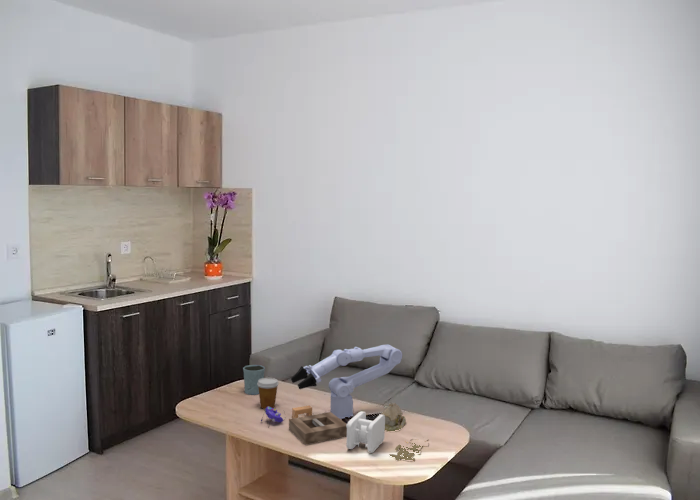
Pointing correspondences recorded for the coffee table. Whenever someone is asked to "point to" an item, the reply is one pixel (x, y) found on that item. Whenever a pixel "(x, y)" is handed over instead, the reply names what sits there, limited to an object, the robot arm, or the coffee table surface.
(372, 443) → the cable organizer
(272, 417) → the game controller
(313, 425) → the brown piece
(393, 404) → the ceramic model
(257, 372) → the teal cup
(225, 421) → the coffee table surface
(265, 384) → the disposable coffee cup
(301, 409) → the tan rectangular block
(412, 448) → the lettering
